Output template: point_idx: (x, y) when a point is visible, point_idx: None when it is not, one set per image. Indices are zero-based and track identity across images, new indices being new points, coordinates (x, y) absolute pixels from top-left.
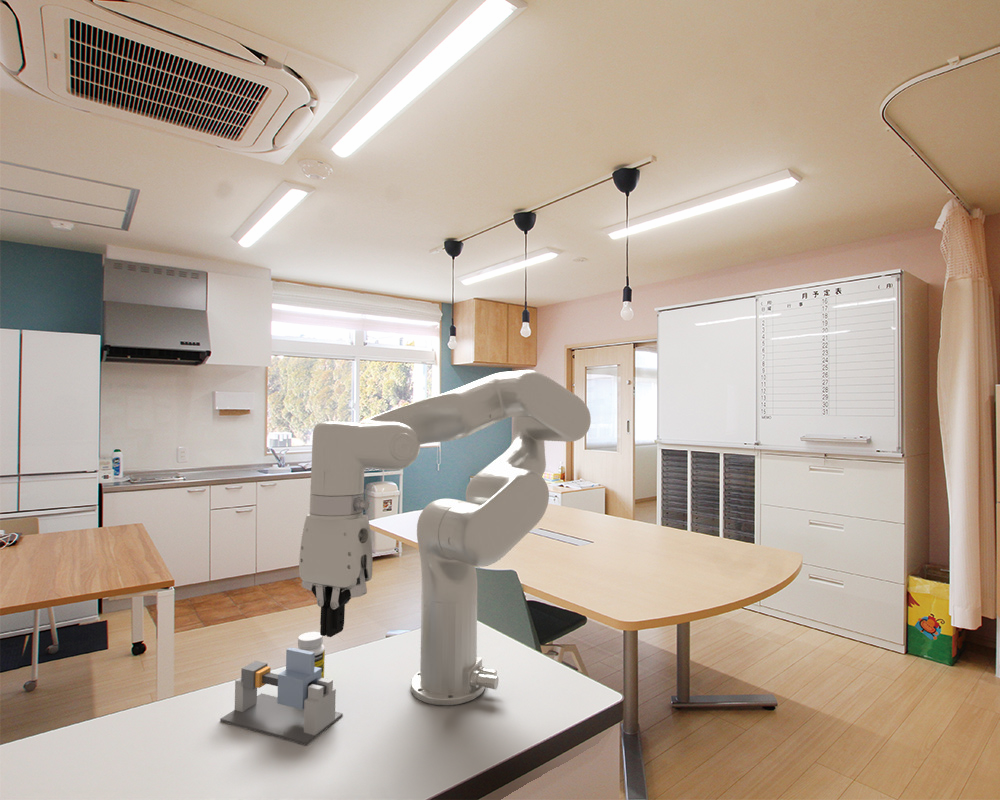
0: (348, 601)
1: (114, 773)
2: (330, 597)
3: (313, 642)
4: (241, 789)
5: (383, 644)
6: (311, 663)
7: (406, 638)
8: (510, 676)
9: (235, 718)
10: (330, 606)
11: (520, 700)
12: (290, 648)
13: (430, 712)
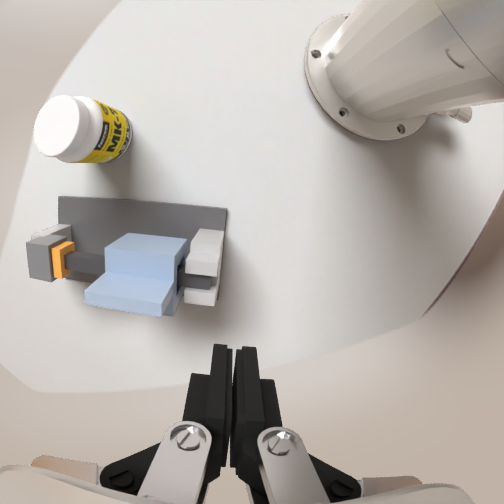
0: (299, 438)
1: (67, 373)
2: (207, 470)
3: (75, 142)
4: None
5: None
6: (167, 303)
7: None
8: None
9: (77, 271)
10: (223, 452)
11: None
12: (89, 297)
13: (373, 160)
